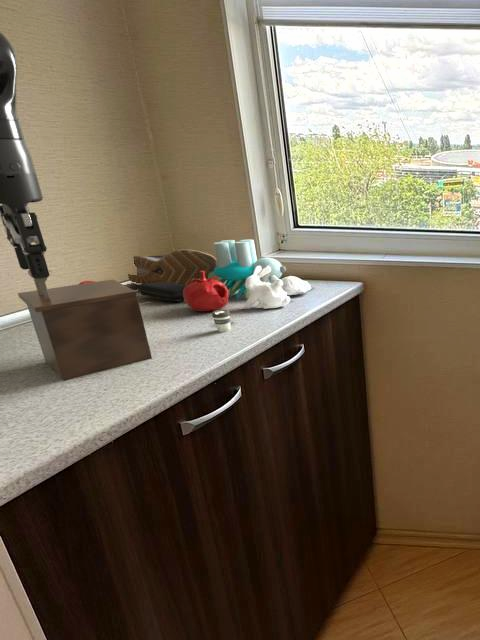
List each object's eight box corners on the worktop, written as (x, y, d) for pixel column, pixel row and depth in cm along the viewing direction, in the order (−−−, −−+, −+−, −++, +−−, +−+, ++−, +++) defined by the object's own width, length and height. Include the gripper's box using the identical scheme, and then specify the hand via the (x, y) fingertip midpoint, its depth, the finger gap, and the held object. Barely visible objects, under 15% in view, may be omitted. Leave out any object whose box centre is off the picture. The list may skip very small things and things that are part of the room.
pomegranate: (185, 316, 120) (176, 277, 117) (188, 305, 129) (179, 268, 125) (231, 311, 124) (224, 273, 121) (231, 301, 133) (224, 265, 129)
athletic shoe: (201, 248, 139) (231, 245, 150) (115, 254, 145) (149, 251, 156) (210, 288, 142) (238, 283, 153) (125, 293, 148) (158, 287, 159)
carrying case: (171, 279, 143) (209, 286, 138) (171, 290, 144) (210, 297, 139) (133, 283, 134) (172, 290, 129) (134, 295, 135) (173, 302, 129)
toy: (290, 237, 141) (297, 291, 146) (208, 238, 139) (218, 293, 144) (278, 243, 130) (286, 301, 135) (188, 245, 128) (200, 303, 133)
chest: (64, 384, 87) (41, 311, 82) (46, 364, 95) (24, 296, 90) (152, 362, 97) (137, 295, 92) (130, 345, 104) (114, 283, 99)
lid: (35, 312, 82) (25, 279, 80) (19, 297, 89) (8, 266, 87) (137, 295, 92) (129, 265, 90) (114, 283, 99) (107, 255, 97)
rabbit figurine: (237, 309, 126) (230, 270, 122) (250, 301, 133) (243, 263, 129) (287, 309, 126) (281, 270, 122) (297, 301, 133) (291, 263, 129)
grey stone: (286, 290, 143) (284, 272, 141) (314, 290, 143) (312, 273, 141) (272, 298, 135) (269, 279, 133) (302, 298, 135) (299, 280, 133)
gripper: (-36, 167, 81) (-3, 269, 88) (-21, 173, 73) (15, 284, 79) (24, 167, 87) (52, 263, 93) (45, 172, 78) (74, 277, 84)
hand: (35, 273), depth 86 cm, fingers open, 8 cm apart
